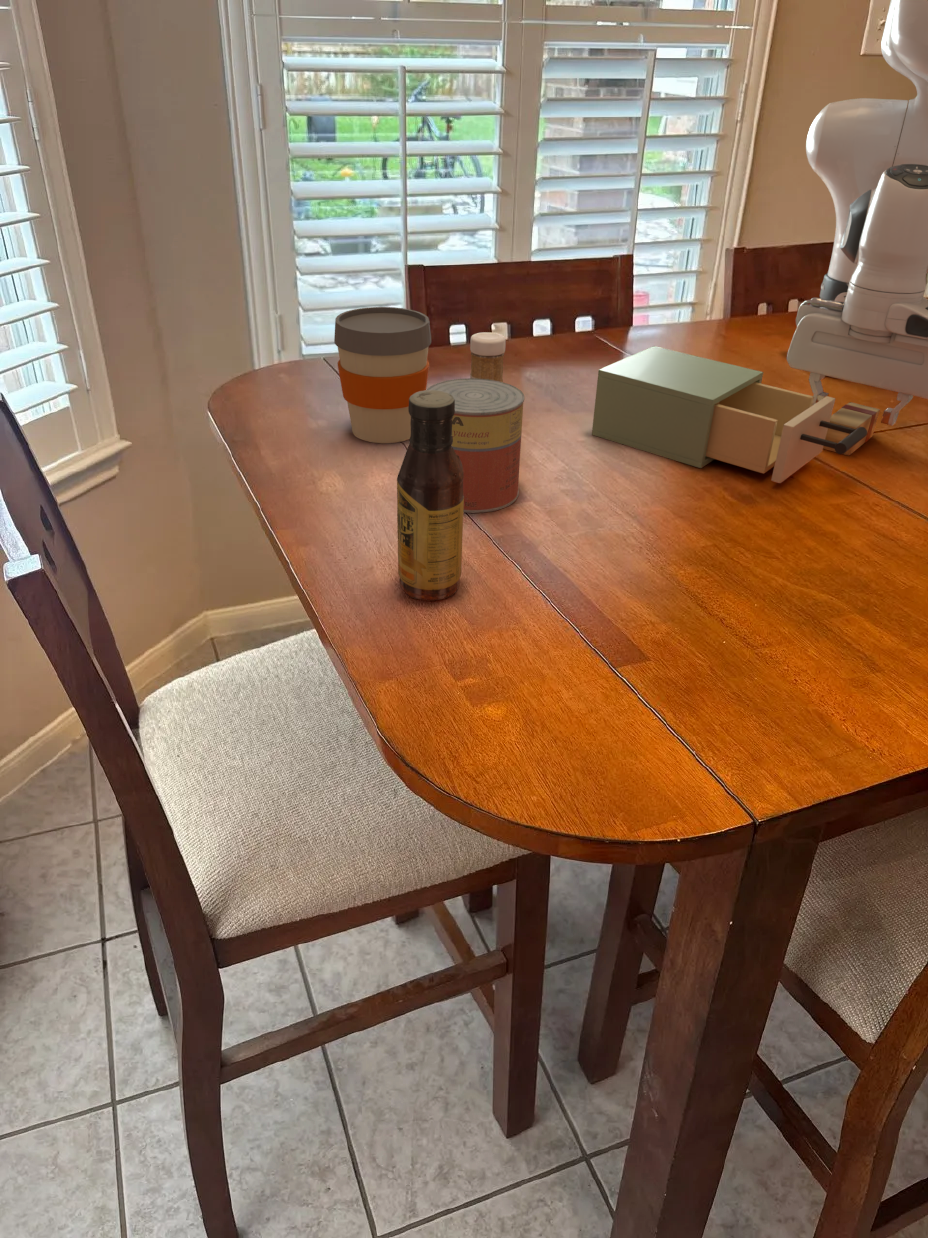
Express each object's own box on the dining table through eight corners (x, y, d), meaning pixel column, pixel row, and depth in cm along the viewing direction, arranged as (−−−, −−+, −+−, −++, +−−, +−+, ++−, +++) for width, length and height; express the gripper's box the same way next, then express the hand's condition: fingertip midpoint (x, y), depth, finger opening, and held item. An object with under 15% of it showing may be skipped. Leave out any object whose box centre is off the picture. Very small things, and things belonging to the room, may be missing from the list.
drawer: (865, 463, 118) (881, 409, 113) (825, 497, 109) (841, 439, 105) (714, 421, 129) (723, 370, 125) (667, 449, 120) (675, 395, 116)
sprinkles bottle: (507, 437, 124) (513, 338, 117) (479, 444, 122) (483, 343, 115) (488, 426, 127) (492, 329, 120) (461, 432, 125) (463, 333, 118)
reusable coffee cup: (450, 431, 126) (451, 320, 117) (382, 456, 118) (379, 339, 110) (387, 407, 133) (385, 301, 125) (320, 429, 125) (312, 318, 117)
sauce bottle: (397, 572, 94) (394, 382, 83) (458, 571, 94) (463, 382, 83) (399, 607, 88) (395, 408, 77) (464, 605, 89) (469, 408, 78)
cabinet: (750, 436, 127) (763, 371, 122) (700, 468, 117) (713, 399, 112) (645, 407, 135) (654, 345, 130) (591, 434, 126) (598, 369, 121)
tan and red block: (842, 429, 130) (849, 401, 128) (872, 436, 128) (880, 408, 125) (817, 447, 124) (824, 418, 122) (849, 456, 122) (857, 427, 120)
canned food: (411, 480, 112) (410, 384, 106) (494, 466, 116) (498, 373, 109) (445, 519, 104) (447, 418, 97) (534, 504, 107) (541, 405, 101)
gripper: (791, 298, 119) (769, 401, 127) (957, 329, 108) (922, 440, 116) (810, 290, 123) (788, 391, 131) (971, 319, 113) (937, 427, 120)
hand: (852, 414), depth 123 cm, fingers open, 8 cm apart
